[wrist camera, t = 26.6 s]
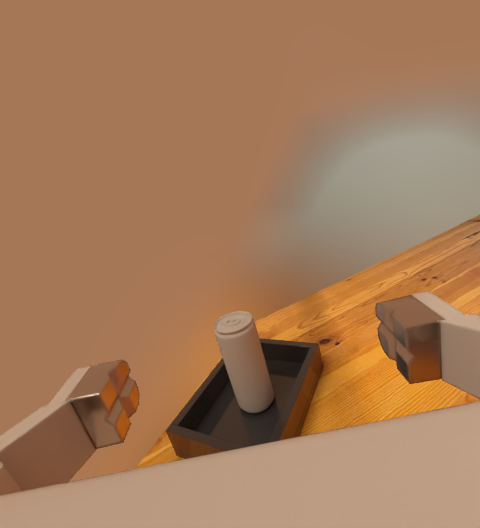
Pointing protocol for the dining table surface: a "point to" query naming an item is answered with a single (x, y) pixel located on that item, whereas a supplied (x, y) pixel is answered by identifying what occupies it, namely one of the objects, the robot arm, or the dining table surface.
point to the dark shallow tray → (239, 421)
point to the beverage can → (244, 361)
